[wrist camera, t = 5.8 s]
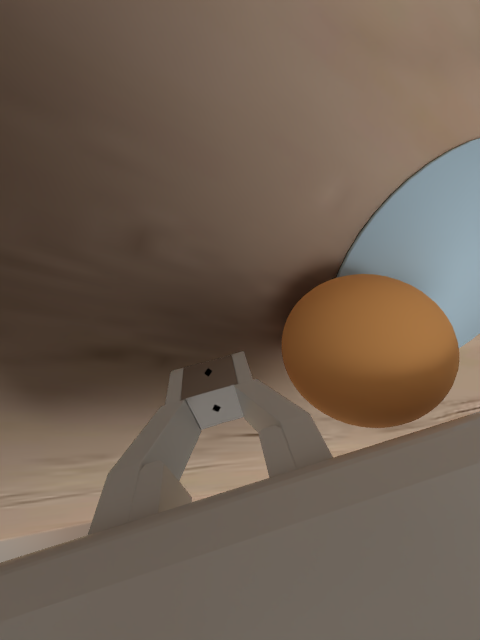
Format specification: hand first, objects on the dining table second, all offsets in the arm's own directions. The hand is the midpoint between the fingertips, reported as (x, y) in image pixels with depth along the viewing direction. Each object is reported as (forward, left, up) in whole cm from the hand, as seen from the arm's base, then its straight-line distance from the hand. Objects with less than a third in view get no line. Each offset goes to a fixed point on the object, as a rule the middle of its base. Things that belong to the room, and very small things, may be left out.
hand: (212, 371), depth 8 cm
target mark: (0, +12, -2) cm, 12 cm away
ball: (0, +6, +1) cm, 6 cm away
